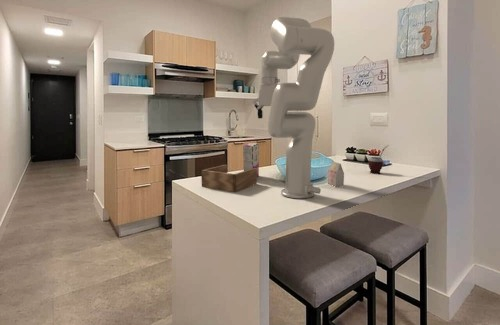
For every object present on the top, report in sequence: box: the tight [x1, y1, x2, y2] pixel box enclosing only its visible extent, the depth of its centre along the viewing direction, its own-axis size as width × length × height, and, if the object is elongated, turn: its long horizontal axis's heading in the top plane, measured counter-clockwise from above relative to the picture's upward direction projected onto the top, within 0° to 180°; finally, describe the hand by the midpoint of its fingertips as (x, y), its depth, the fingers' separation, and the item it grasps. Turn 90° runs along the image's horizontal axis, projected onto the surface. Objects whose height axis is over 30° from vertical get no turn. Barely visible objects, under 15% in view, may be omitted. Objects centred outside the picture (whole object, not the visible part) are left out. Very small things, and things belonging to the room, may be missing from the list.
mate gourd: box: [367, 144, 390, 175], centre depth 159 cm, size 8×8×15 cm
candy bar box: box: [242, 142, 260, 178], centre depth 147 cm, size 11×5×16 cm, turn 164°
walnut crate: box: [200, 164, 258, 193], centre depth 133 cm, size 17×17×7 cm
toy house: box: [327, 161, 345, 188], centre depth 133 cm, size 4×7×10 cm, turn 15°
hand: (268, 118), depth 148 cm, fingers open, 9 cm apart
